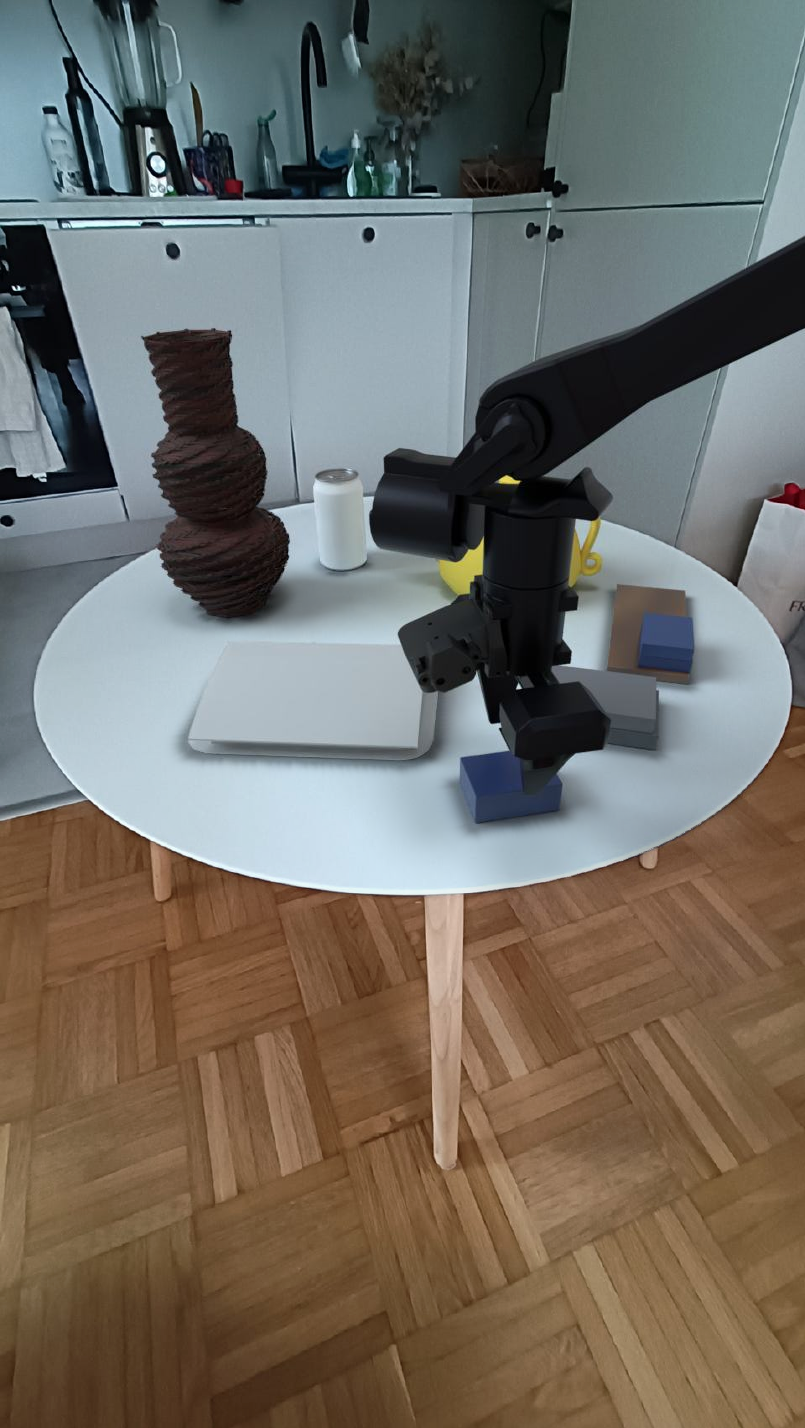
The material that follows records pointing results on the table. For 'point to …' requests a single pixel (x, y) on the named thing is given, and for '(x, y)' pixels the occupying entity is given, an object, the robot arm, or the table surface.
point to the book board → (628, 625)
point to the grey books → (621, 703)
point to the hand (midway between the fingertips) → (512, 756)
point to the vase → (212, 479)
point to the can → (340, 519)
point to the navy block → (502, 788)
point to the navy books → (666, 643)
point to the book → (314, 702)
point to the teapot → (472, 562)
